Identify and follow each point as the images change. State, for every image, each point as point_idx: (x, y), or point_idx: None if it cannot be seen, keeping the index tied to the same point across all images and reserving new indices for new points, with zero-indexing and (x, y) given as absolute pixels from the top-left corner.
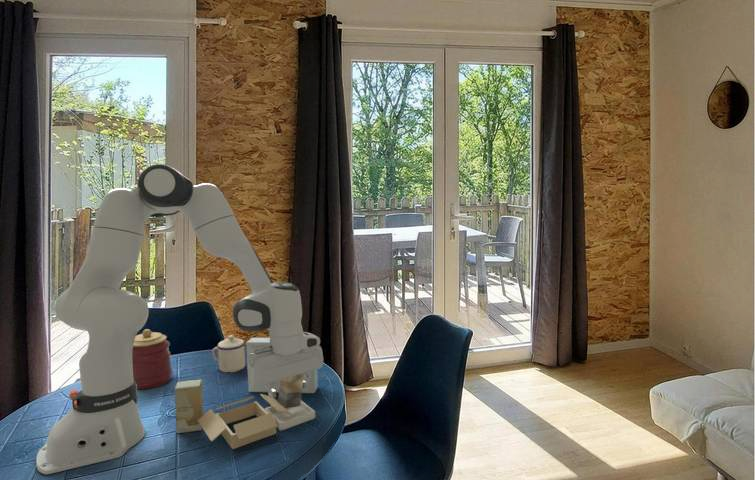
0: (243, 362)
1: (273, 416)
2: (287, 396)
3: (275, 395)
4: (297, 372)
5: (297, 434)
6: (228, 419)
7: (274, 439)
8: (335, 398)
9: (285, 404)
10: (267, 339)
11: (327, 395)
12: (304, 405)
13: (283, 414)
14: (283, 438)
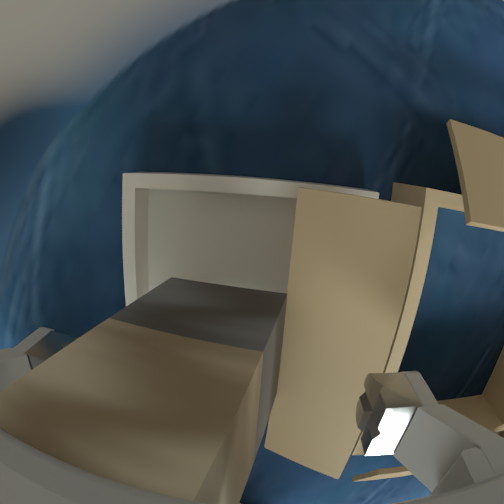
0: None
1: None
2: (260, 334)
3: (381, 377)
4: (14, 478)
5: (311, 88)
6: (460, 408)
7: (423, 140)
8: (9, 276)
9: (283, 306)
10: None
11: (26, 322)
12: (138, 289)
13: None
14: (387, 112)
